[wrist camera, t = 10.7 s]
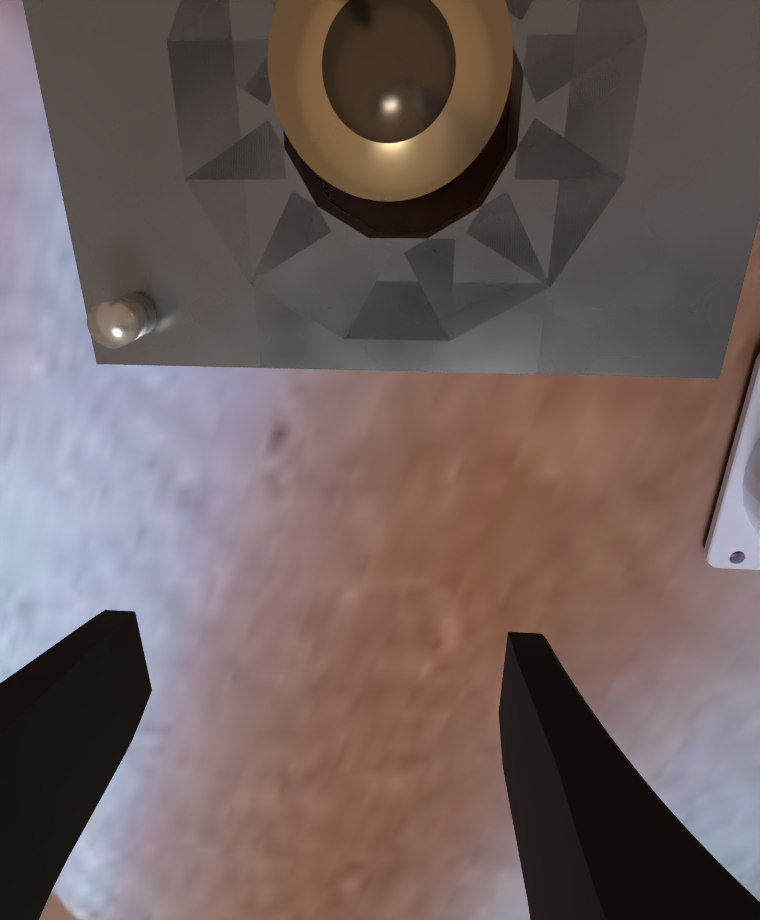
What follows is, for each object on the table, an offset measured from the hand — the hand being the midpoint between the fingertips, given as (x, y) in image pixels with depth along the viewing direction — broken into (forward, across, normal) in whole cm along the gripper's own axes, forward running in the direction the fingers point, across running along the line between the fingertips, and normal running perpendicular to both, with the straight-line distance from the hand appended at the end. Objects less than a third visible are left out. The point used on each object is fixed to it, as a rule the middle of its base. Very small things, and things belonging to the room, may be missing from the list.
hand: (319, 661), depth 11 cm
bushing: (+10, -1, -10) cm, 15 cm away
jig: (+10, -1, -10) cm, 14 cm away
